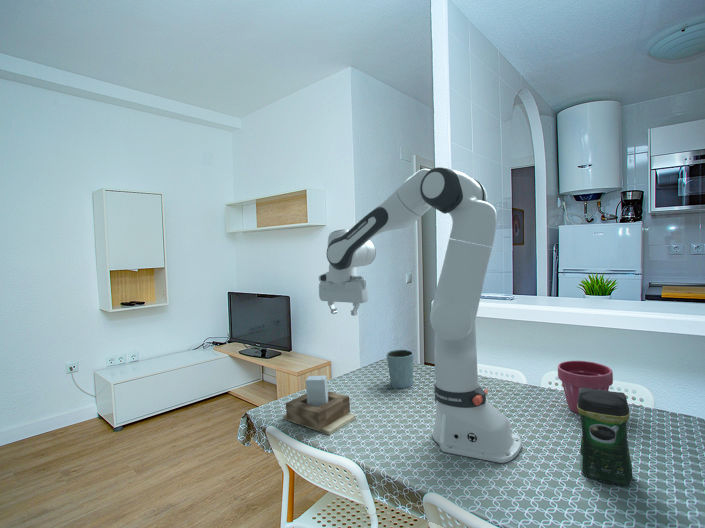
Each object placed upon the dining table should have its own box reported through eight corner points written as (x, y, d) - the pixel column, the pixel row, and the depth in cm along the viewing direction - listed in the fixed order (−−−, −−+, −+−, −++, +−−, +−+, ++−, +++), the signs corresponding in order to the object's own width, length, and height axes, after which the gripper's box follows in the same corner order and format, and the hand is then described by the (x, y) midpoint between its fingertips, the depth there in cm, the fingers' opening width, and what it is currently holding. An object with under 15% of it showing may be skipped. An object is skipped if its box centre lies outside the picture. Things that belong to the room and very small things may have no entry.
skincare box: (329, 412, 122) (327, 375, 121) (327, 418, 117) (324, 379, 117) (310, 412, 122) (308, 375, 122) (307, 418, 118) (305, 380, 117)
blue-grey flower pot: (419, 381, 147) (417, 350, 146) (408, 390, 138) (406, 358, 137) (395, 378, 152) (393, 348, 151) (383, 386, 143) (381, 355, 143)
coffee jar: (632, 471, 84) (629, 388, 83) (633, 491, 78) (630, 401, 77) (581, 459, 90) (578, 381, 89) (577, 477, 83) (574, 393, 82)
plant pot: (604, 424, 105) (602, 379, 104) (551, 410, 116) (549, 368, 115) (620, 408, 114) (619, 366, 114) (570, 396, 125) (568, 357, 124)
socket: (357, 417, 119) (356, 398, 119) (327, 436, 108) (326, 415, 108) (311, 403, 131) (310, 386, 131) (280, 419, 121) (279, 401, 120)
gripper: (370, 275, 132) (372, 314, 132) (326, 275, 145) (329, 311, 145) (359, 276, 127) (361, 318, 128) (315, 276, 140) (317, 314, 140)
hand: (343, 314), depth 137 cm, fingers open, 8 cm apart
